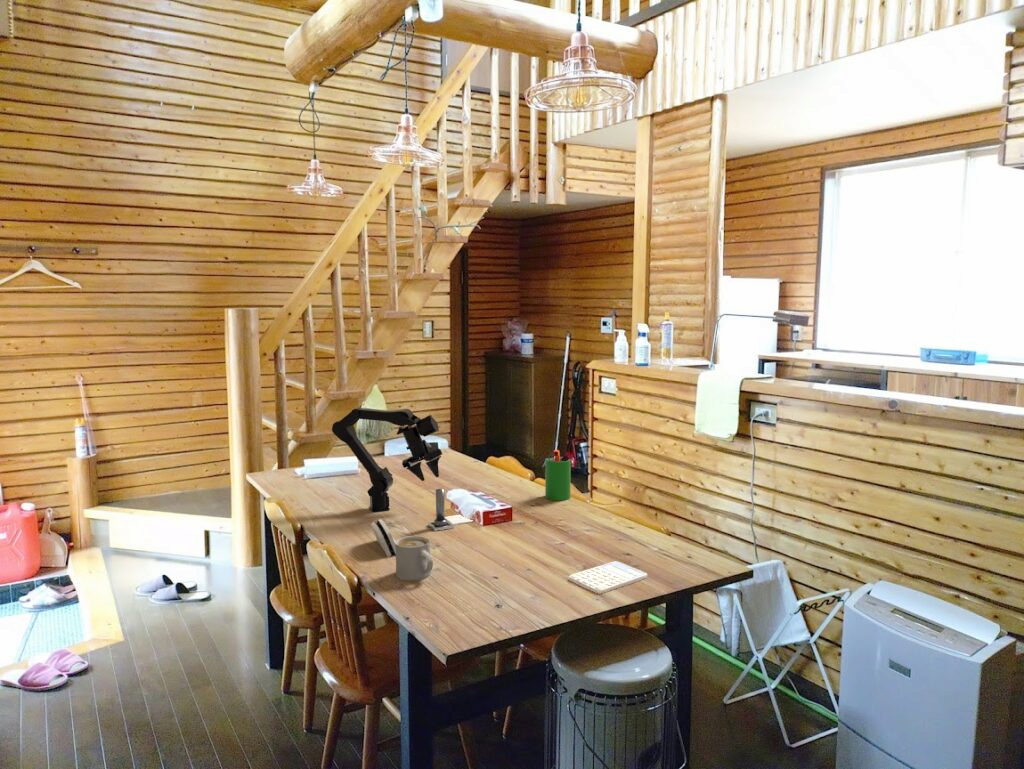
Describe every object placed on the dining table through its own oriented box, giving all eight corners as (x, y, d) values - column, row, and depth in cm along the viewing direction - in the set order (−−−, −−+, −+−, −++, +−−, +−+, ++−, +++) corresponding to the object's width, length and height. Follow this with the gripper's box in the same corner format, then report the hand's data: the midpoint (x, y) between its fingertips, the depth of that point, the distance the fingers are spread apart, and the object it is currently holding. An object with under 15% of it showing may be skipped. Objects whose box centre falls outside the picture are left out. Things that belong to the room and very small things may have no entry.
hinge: (403, 554, 224) (392, 527, 221) (389, 561, 222) (378, 534, 220) (391, 538, 239) (381, 512, 237) (378, 544, 238) (367, 518, 235)
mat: (452, 525, 252) (452, 523, 252) (443, 518, 260) (443, 517, 260) (476, 521, 256) (476, 520, 256) (466, 514, 264) (466, 513, 264)
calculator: (566, 581, 204) (566, 574, 203) (616, 565, 216) (616, 559, 215) (599, 596, 193) (599, 590, 193) (649, 578, 205) (649, 572, 205)
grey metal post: (437, 529, 248) (436, 492, 246) (432, 525, 251) (431, 489, 250) (448, 527, 250) (448, 490, 248) (444, 524, 253) (443, 487, 252)
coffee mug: (390, 572, 209) (389, 540, 208) (420, 565, 215) (420, 533, 213) (410, 587, 198) (409, 553, 197) (441, 579, 204) (441, 546, 202)
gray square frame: (434, 531, 246) (434, 528, 246) (427, 525, 252) (427, 522, 252) (453, 528, 249) (453, 525, 249) (446, 522, 255) (446, 519, 255)
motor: (570, 494, 290) (570, 447, 288) (570, 501, 281) (570, 451, 279) (545, 494, 291) (545, 446, 289) (544, 500, 282) (544, 451, 280)
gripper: (444, 428, 265) (460, 466, 265) (415, 438, 278) (431, 474, 279) (422, 439, 257) (439, 478, 258) (394, 448, 270) (410, 485, 271)
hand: (430, 478), depth 266 cm, fingers open, 9 cm apart
